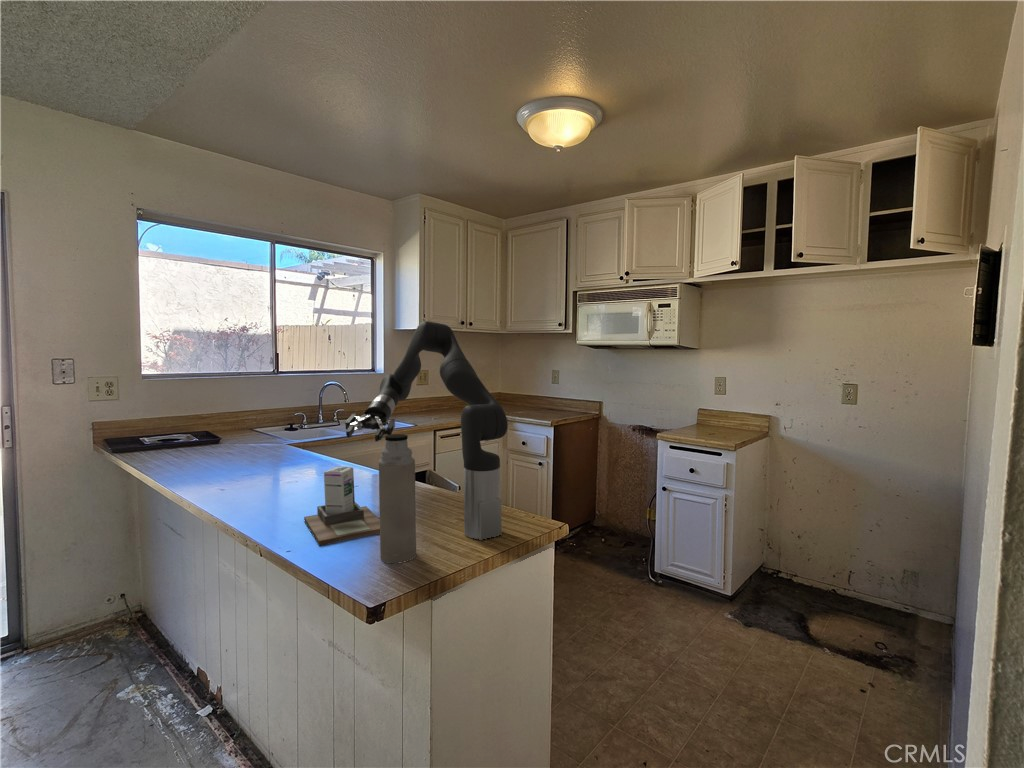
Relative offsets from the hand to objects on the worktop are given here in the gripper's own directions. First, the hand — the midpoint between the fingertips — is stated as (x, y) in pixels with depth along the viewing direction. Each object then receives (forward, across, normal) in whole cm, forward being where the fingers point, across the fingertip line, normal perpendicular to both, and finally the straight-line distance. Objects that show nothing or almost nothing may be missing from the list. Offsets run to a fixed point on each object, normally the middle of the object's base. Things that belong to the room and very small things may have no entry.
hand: (362, 437), depth 146 cm
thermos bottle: (+39, +23, +4) cm, 45 cm away
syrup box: (+20, 0, +15) cm, 25 cm away
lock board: (+23, +3, +13) cm, 27 cm away
